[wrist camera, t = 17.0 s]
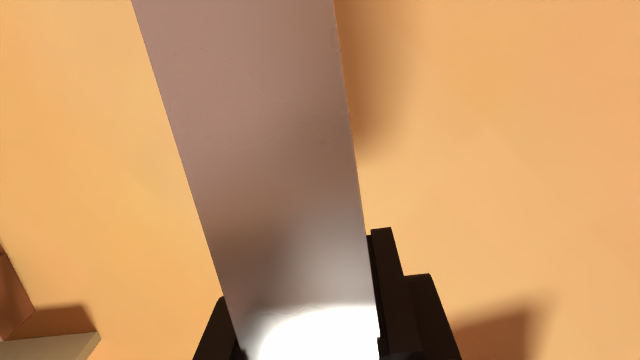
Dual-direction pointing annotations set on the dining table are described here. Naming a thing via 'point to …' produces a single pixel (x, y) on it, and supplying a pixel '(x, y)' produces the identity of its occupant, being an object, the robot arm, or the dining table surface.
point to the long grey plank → (270, 168)
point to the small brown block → (12, 299)
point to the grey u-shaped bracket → (50, 347)
